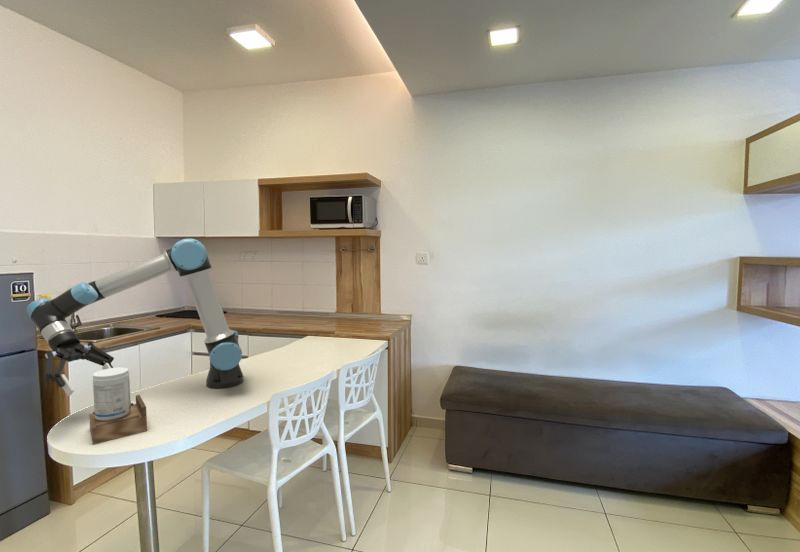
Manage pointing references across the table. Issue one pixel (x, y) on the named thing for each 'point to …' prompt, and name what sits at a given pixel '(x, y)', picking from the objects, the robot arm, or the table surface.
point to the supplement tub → (111, 393)
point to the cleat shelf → (120, 424)
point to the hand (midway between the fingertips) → (94, 386)
